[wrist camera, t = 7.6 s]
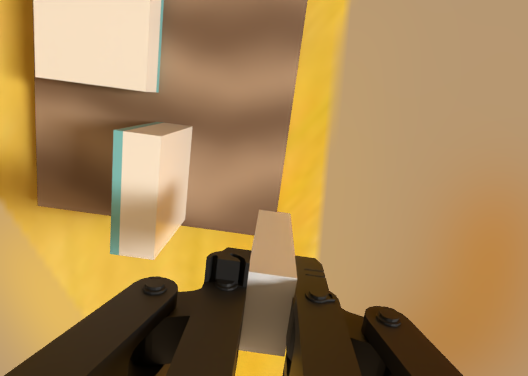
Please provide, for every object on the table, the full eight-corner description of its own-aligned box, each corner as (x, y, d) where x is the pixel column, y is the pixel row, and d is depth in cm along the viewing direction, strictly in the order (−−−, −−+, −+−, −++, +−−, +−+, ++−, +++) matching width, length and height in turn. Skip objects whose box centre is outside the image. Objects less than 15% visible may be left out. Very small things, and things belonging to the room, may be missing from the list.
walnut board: (46, -37, 25) (31, -45, 23) (306, -2, 25) (308, -9, 23) (49, 200, 29) (37, 205, 27) (273, 230, 29) (273, 237, 27)
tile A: (164, -19, 23) (57, -33, 23) (151, -33, 21) (32, -49, 21) (158, 92, 25) (58, 79, 25) (145, 91, 23) (35, 76, 23)
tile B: (157, 121, 25) (113, 129, 19) (192, 126, 25) (161, 136, 19) (152, 215, 27) (110, 253, 20) (185, 219, 27) (153, 259, 20)
